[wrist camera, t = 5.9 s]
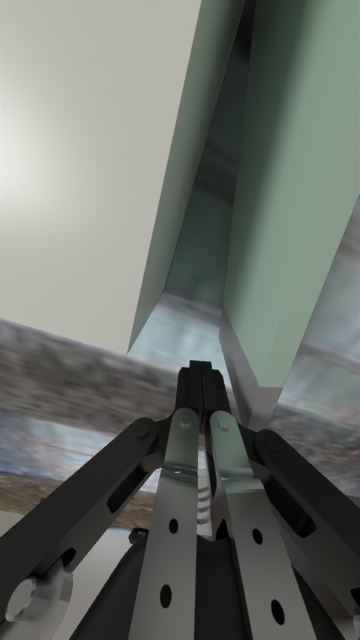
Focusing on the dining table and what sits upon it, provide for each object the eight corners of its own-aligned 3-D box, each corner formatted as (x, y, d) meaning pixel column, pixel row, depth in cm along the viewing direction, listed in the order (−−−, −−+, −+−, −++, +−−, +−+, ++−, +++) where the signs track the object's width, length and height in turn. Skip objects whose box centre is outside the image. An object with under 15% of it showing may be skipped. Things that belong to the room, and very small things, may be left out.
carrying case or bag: (172, 532, 58) (134, 524, 57) (171, 546, 55) (131, 538, 54) (164, 538, 63) (129, 530, 62) (163, 551, 60) (126, 544, 59)
